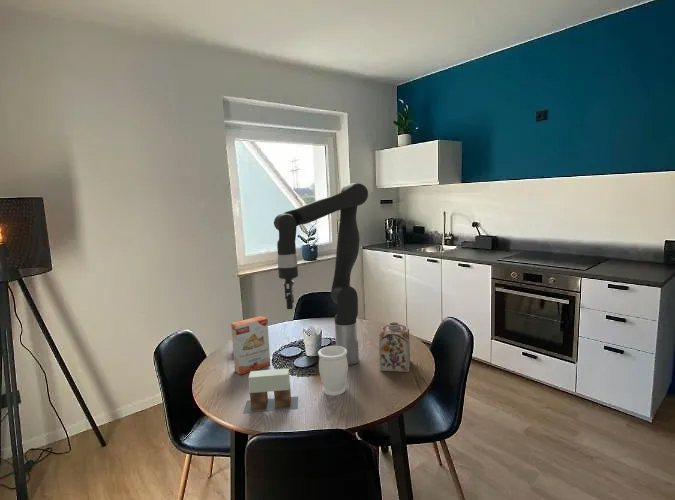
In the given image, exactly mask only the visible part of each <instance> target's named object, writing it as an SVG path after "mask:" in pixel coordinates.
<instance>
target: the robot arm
mask: <svg viewBox="0 0 675 500" xmlns="http://www.w3.org/2000/svg"><path fill="white" fill-rule="evenodd" d="M368 197H369V191H368V189H367V187H366V186H365V185H364V184H362V183H360V182H354V183H347V184H345V185H344V186H343V187H342V188H341V190H340V192H339V193H336V194H335V195H332V196H328V197H325V198H321V199H317V200H314V201H312V202H310V203H306V204H304V205H302V206H299V207H297V208H295V209H292V210H288V211H285V212H281V213H279V214H278V215H277V216H276V217H275V218H274V220H273V225H274V228H275V229H276V230H277V231H278V240H277V242H276V245H277V246H276V248H277V270H278V278H279V279H281V280H284V282H283V288H284V289H283V291H284V295H285V297H284V299H285V301H286V309H287V310H293V306H294V305H293V304H294V303H295V301H294V298H295V297H294V293H295V291H294V290H295V281H294V279H296V278H298V277H299V267H298V265H299V264H298V257H297V247H296V239H297V238H296V237H297V227H298V226H301V225H306V224H307V225H308V224H310V223H313V222H314V221H317V220H319V219H321V218H324V217H326V216H329V215H330V214H333V213H336V212H339V223H338V233H337V241H336V242H337V244H336V254H335V263H334V264H335V267H334V268H335V269H334V275H333V280H332V283H331V284H332V285H331V289H330V297H331V300H332V302H333V303H334V304H335V305H336V306H337V312H336V313H337V314H335V315H334V333H335V335H334V337H335V346H341V347H344V348H346V350H347V354H346V357H347V363H348V366H352V365H354V364H355V365H356V364H359V363H360V359H359V358H360V356H359V339H358V328H357V327H358V326H357V324H358V322H357V318H358V316H359V315H358V313H359V297H358V292H357V290H356V288H354V287H353V286H351V275H352V273H351V272H352V270H353V268H354V266H355V263H356V261H357V259H358V255H359V252H360V251H359V249H360V239H361V238H360V231H359V227H358V223H357V210H358V206H362V205H363V204H365V202H366V201H367V199H368Z"/></svg>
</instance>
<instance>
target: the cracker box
mask: <svg viewBox="0 0 675 500" xmlns="http://www.w3.org/2000/svg"><path fill="white" fill-rule="evenodd" d="M268 323H269V322H268V318H266V317H265V316H262V315H260V316H255V317H251V318H246V319H243V320H238V321H234V322H231V323H230V329H231V338H232V339H231V340H232V341H231V342H232V353H233V365H234V366H233V368H234V371H235V372H236V373H237V374H238V375H239V376H240V375H243V374H247V373H250V372H251V371H257V370H260V369H262V368H265V367H269V366H271V356H270V340H269V338H270V337H269V324H268Z"/></svg>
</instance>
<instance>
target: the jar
mask: <svg viewBox="0 0 675 500" xmlns="http://www.w3.org/2000/svg"><path fill="white" fill-rule="evenodd" d="M346 354H347V350H346V348H344V347H341V346H336V345H328V346H325V347H322V348H320V349H319V350H318V351H317V355H318V357H319V358H318V372H319V375H320V380H321V384H322V386H323V387H322V392H323V393H324V394H325V395H328V396H339V395H343V394H344V393H345V392H346V390H347V387H346V384H347V380H348V372H349V371H348V370H349V365H348V363H347V357H346Z"/></svg>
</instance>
